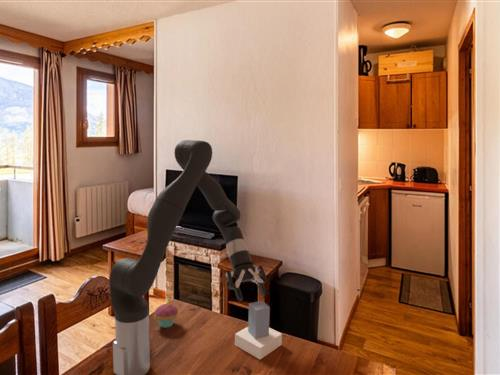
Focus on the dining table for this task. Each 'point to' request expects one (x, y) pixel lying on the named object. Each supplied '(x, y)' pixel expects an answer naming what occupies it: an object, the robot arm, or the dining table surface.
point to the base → (258, 342)
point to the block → (258, 319)
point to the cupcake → (166, 314)
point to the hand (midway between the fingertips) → (252, 297)
